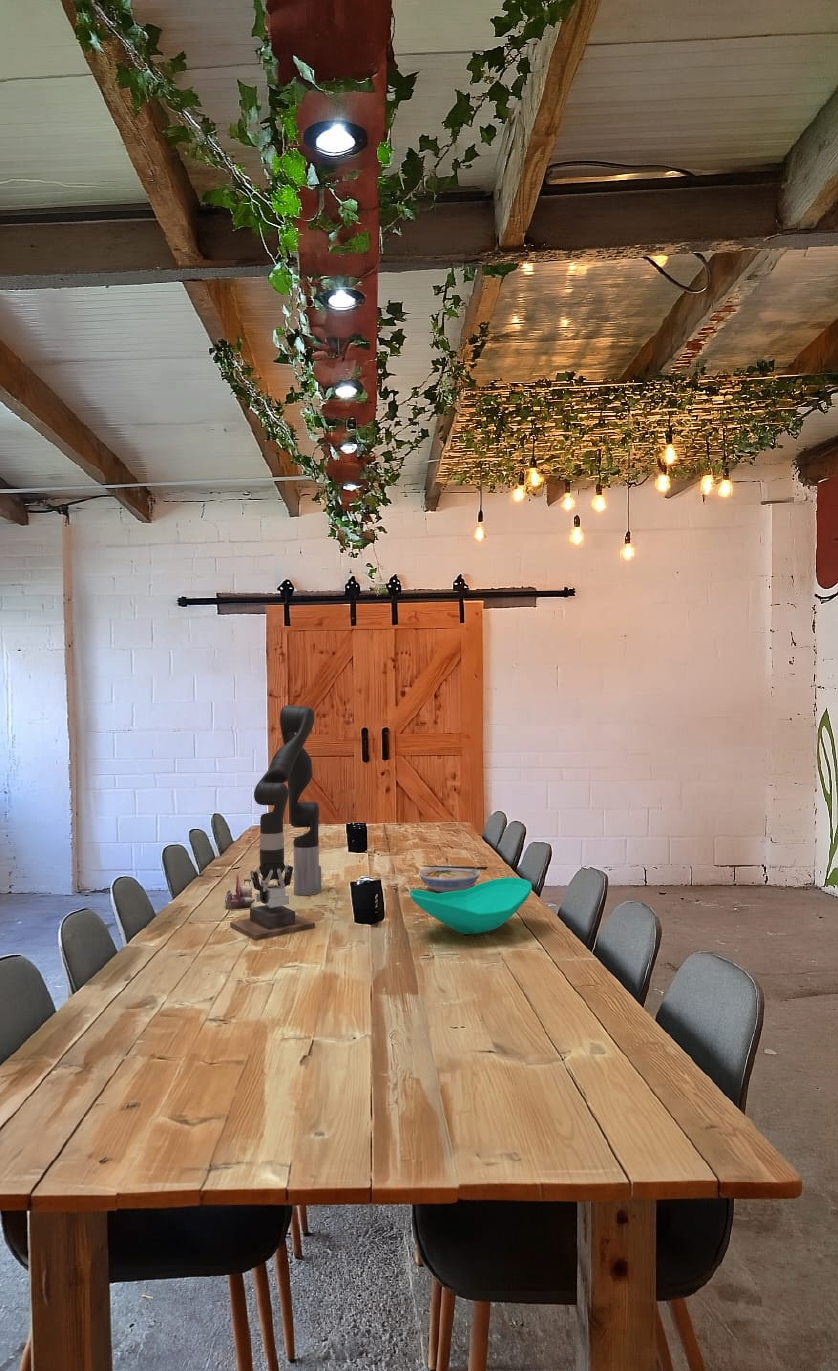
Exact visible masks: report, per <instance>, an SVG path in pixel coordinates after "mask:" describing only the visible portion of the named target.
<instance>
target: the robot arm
mask: <svg viewBox="0 0 838 1371" xmlns="http://www.w3.org/2000/svg"><path fill="white" fill-rule="evenodd" d="M314 724H315V712H314V710H313V708H311V707H309V706H308V707H307V706H300V705H292V704H291V705H290V704H288V705H284V706H282V708H281V710H280V713H279V727H280V732H281V737H282V742H283V746H281V747H280V748H279V749H278V750H277V751H276V752H275V754H273V757H272V760H271V763H270V765H269V768H268V770H267V771H266V772H265V773H264V775H263V776H262V777H261V778H260V780H259V781H258V782H257V783H256V785H255V789H254V790H253V791H254V792H253V799H254V801H255V803H256V804H258V805H260V806H274V807H273V810H272V811H270V812H266V813H265V812H264V813H263V814H261V815H260V817H259V818H260V819H259V823H260V826H259V829H260V830H259V832H260V834H259V845H258V847H259V866H258V869H255V870H251V871H250V878H251V881H252V886H253V889H254V890H256V891H258V892H259V891H260V901H261V902H262V903H261V902H260V903H261V904H263V903H264V904H263V905H266V904H265V903H267V892H266V889H267V886H268V884H270V882H271V881H272V880H275V881H276V883H277V885H279V886H282V887H285V888H286V887H287V886H290V885H291V881H292V878H293V894H295V896H296V895H297V896H313V895H317V894H318V893H322V865H320V842H319V827H320V826H319V825H320V824H319V822H320V806H319V804H318V802H316V801H299V799H300V797H301V795H302V793H303V792H304V791H305V790H306V788H307V787H308V786H309V784H310V782H311V781H312V778H313V763H312V759H311V756H310V755H309V753H308V752H307V751H306V749H305V748H304V745H305V743H306V742H307V740H308V737H309V736H310V734H311V733H312V730H313V727H314ZM286 782H287V785H286V784H285V783H286ZM287 803H288V819H289V824H290V826H291V827H293V828H309V830H308V831H306V832H305V833H304V834H301V835H298V836H296V837H295V838H294V839H293V844H292V845H293V866H292V865H286V864H285V837H284V815H285V811H286V808H287ZM283 872H284V877H283ZM260 874H261V879H259V877H260ZM292 875H293V876H292Z"/></svg>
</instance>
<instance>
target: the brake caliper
mask: <svg viewBox="0 0 838 1371" xmlns="http://www.w3.org/2000/svg"><path fill="white" fill-rule="evenodd" d="M243 878H244V879H243V885H242V884H240V876H239V874H236V881H235V882H236V883H235V885H236V886H235V894H233V893H232V892H231V889H228V890H227V892H226V895H225V898H224V904H225V907H226V908H227V910H230V911H231V912H235V911H246V910H248V911H249V910H250V908H251V905H252V904H253V903H254V902H256V898H253V888H252V885H251V880H250V878H251V876H248V877H246V876H244V877H243Z"/></svg>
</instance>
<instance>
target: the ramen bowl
mask: <svg viewBox="0 0 838 1371" xmlns="http://www.w3.org/2000/svg"><path fill="white" fill-rule="evenodd" d="M422 867H425V868H421V869H419V870H418V874H419V877H420V879H421V880H422V882H423V883H424V884H425V885H426V887H428V888H430V889H431V890H433V891H436V892H439V893H445V892H452V891H460V890H466V889H469V888H471V887H473V886H474V884H475V883H476V882H477V880H478V879H479V878H480V875H481V871H482V870H484V871H486V870H488V866H470V865H469V866H465V865H422Z"/></svg>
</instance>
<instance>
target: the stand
mask: <svg viewBox="0 0 838 1371" xmlns="http://www.w3.org/2000/svg"><path fill="white" fill-rule="evenodd" d="M249 908H250V909H249V918H245V919H239V920H234V921H230V922H229V927H230V928H231V929H233V930H235V931H236V932H238V933H241V934H242V935H245V936H246V937H248V938H251V939H252V940H254V941H259V940H264V939H269V938H273V937H279V936H283V935H287V934H292V933H296V932H301V931H306V930H310V929H311V930H312V929H315V928H316V923H315V922H314V921H311V920H309V919H307V918H305V917H303V916H300V915H297V914H296V911H295V910H293V909H291V908H288V907H286V906H285V905H283V906H278V907H272V908H270V907H269V906H268V905H266V904H263V905H256V906H253V907H249Z"/></svg>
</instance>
